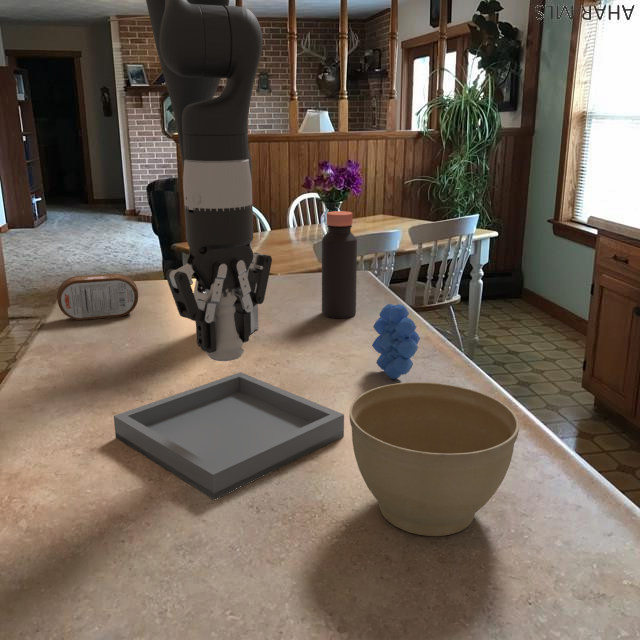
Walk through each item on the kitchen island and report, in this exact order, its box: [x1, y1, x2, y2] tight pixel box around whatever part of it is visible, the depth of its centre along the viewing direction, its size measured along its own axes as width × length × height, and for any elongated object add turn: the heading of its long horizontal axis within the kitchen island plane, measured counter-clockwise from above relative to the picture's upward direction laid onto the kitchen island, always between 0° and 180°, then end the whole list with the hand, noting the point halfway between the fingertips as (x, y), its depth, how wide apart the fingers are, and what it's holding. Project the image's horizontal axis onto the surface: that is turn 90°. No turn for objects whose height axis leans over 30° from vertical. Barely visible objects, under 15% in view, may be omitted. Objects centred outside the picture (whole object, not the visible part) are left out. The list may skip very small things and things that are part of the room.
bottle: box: [321, 210, 358, 319], centre depth 131 cm, size 7×7×20 cm
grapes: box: [371, 303, 421, 380], centre depth 101 cm, size 12×7×12 cm, turn 19°
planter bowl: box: [349, 381, 520, 537], centre depth 67 cm, size 16×16×11 cm
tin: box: [56, 273, 139, 321], centre depth 131 cm, size 15×3×8 cm, turn 108°
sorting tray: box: [113, 371, 345, 501], centre depth 84 cm, size 20×20×3 cm
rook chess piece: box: [205, 289, 245, 362], centre depth 80 cm, size 4×4×8 cm
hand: (224, 345), depth 80 cm, fingers closed on rook chess piece, 4 cm apart
